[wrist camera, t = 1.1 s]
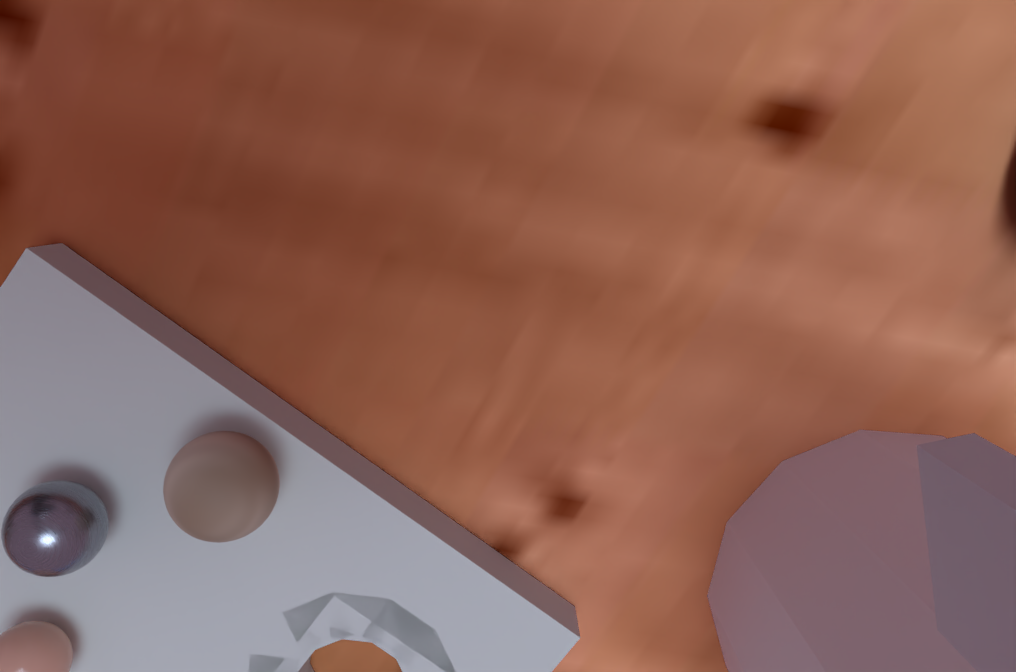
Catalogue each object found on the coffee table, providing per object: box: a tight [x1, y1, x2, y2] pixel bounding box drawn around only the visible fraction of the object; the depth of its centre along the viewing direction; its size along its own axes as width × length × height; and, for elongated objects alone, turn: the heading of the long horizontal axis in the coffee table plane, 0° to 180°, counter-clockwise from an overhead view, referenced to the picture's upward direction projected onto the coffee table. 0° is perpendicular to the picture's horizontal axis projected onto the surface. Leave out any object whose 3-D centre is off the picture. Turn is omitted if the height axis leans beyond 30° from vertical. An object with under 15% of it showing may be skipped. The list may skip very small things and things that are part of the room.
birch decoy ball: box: [163, 431, 280, 543], centre depth 30 cm, size 4×4×4 cm
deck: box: [0, 243, 580, 672], centre depth 34 cm, size 26×15×2 cm, turn 53°
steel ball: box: [1, 480, 109, 577], centre depth 31 cm, size 4×4×4 cm
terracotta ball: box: [0, 621, 73, 672], centre depth 32 cm, size 3×3×3 cm
